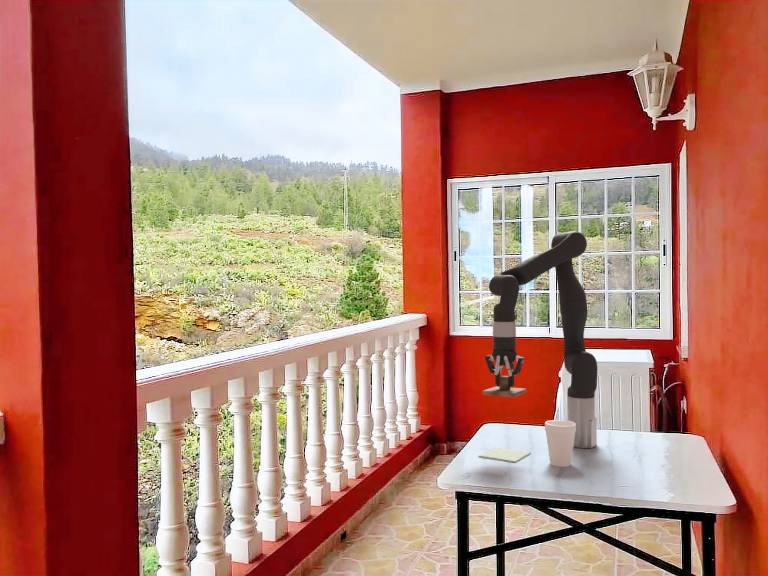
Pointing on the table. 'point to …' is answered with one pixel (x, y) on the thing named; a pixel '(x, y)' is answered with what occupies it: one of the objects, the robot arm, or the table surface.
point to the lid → (504, 389)
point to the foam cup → (560, 441)
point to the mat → (505, 454)
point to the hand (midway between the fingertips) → (504, 386)
